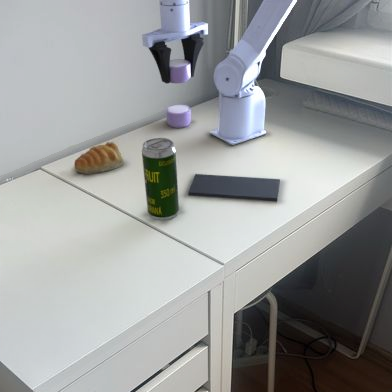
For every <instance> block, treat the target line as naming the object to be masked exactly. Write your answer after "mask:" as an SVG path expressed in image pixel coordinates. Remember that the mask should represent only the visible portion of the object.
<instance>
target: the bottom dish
mask: <svg viewBox="0 0 392 392" xmlns="http://www.w3.org/2000/svg"><path fill="white" fill-rule="evenodd" d="M165 122H166V123H167V124H168V126H169V127H171V128H175V129H180V128H185V127H188V126H189V124H190V123H191V122H192V108H191V107H190V106H189V105H186V104H172V105H169V106H167V107H166V108H165Z"/></svg>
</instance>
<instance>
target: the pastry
mask: <svg viewBox="0 0 392 392" xmlns="http://www.w3.org/2000/svg"><path fill="white" fill-rule="evenodd" d="M124 161H125V159H124V157H123V154H122V152H121V151H120V149H119V146H118V145H117V144H116V143H114V142H113V141H106V142H105V144H98V145H95V146H92V147H90V148H89V150H87V151H86V152H85V153H82V154H80V156H78V157H77V158H76V159H75V160H74V170H75V171H76V172H79V173H82V174H86V175H93V174H96V173H97V174H100V173H103V172H108V171H111V170H113V169H114V170H116V169H119V168H120V167H122V166H123V164H124Z"/></svg>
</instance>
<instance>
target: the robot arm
mask: <svg viewBox="0 0 392 392" xmlns="http://www.w3.org/2000/svg"><path fill="white" fill-rule="evenodd" d="M297 1H298V0H262V2H261V4H260V6H259V8H258V9H257V11H256V13H255V15H254V16H253V18H252V20H251V21H250V23H249V25H248V27H247V29H246V30H245V32H244V33H243V35H242V37H241V38H240V40H239V41H238V43H236V45H235V46H234V47H233V48H232V49H231V51H230V52H229V54H228V56H227V57H226V58H225V59H224V60H222V61H220V62H219V63H218V64H217V65H216V66H215V69H214V71H213V82H214V86H215V88H216V89H217V91H218V128H216V129H213V130H211V131H210V134H211V135H212V136H213V137H216V138H218V139H220V140H222V141H224V142H226V143H228V144H229V145H232V146H234V145H237V144H240V143H243V142H246V141H249V140H252V139H255V138H258V137H261V136H264V135H266V134H267V131H266V130H265V117H266V97H265V94H264V91H263V90H262V89H261V88H260V87H259V86H258V85H255V80H256V79H257V78H258V77H259V74H260V72H261V66H262V62H263V60H264V58H265V57H266V50H267V49H268V47H269V45H270V44H271V42H272V41H273V39H274V37H275V36H276V34H277V33H278V31H279V30H280V28H281V27H282V25H283V23H284V22H285V20H286V19H287V17H288V15H289V14H290V13H291V10H292V9H293V7H294V6H295V4H296V3H297ZM159 14H160V15H159V16H160V28H158V29H156V30H153V31H149V32H147V33H143V34H142V35H141V38H142V46H143V47H145V48H147V49H148V50H149V52H150V53H151V55H152V57H153V59H154V62H155V64H156V66H157V68H158V72H159V75H160V79H161V82H162V83H165V84H171V83H170V60H171V54H172V48H171V47H168V45H167V44H166V43H171V42H174V41H178V40H180V41H181V42H180V43H181V45H182V50H183V51H182V52H183V58H184V59H183V60H188V61H190V63H191V77H190V78H193V77H195V70H196V66H197V62H198V58H199V55H200V52H201V50H202V49H203V46H204V44H205V39H204V38H203V37H201V36H206V35H207V36H208V35H209V26H208V25H209V23H206V22H203V21H199V22H193V23H191V20H190V0H159Z"/></svg>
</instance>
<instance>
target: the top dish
mask: <svg viewBox="0 0 392 392" xmlns="http://www.w3.org/2000/svg"><path fill="white" fill-rule="evenodd" d="M191 78H192V77H191V63H190V61H188V60H184V59H181V58H176V59H170V83H169V84H184V83H187V82H188V81H189V80H190V79H191Z"/></svg>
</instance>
